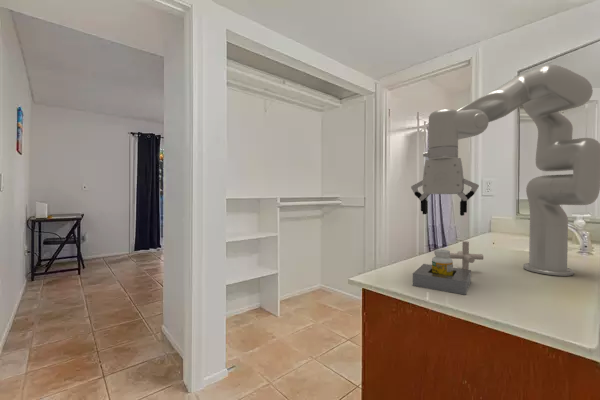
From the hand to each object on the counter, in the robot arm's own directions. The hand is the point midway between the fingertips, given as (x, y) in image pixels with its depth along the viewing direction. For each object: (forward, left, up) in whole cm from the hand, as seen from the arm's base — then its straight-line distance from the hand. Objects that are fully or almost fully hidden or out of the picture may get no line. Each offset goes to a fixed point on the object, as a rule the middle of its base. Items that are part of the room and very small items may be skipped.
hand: (443, 214), depth 81 cm
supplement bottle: (0, 0, -20) cm, 20 cm away
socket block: (0, 0, -20) cm, 20 cm away
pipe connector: (-18, +4, -20) cm, 27 cm away
